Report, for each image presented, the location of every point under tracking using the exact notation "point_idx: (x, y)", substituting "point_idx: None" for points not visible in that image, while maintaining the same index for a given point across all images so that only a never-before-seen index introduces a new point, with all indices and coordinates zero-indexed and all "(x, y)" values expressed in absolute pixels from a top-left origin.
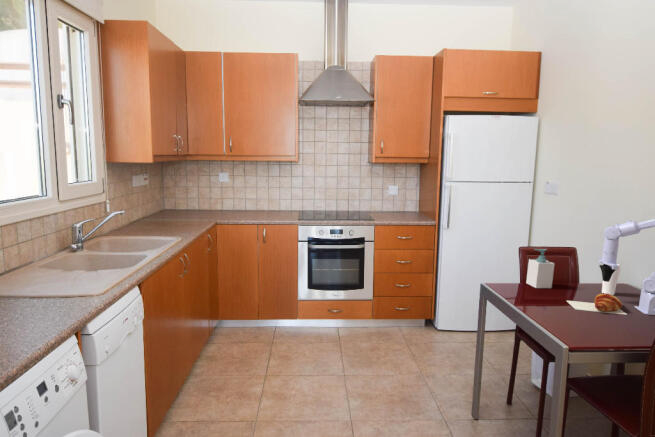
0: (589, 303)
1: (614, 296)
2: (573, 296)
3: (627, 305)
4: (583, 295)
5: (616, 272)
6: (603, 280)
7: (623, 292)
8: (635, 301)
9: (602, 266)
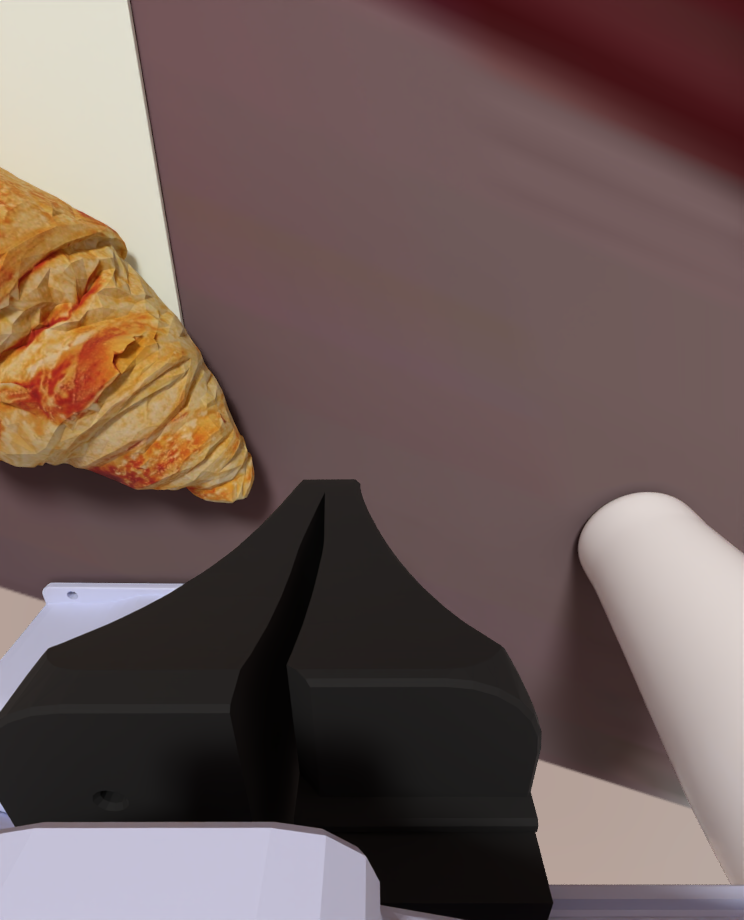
0: (112, 134)
1: (27, 440)
2: (426, 4)
3: None
4: (518, 215)
5: (702, 820)
6: (329, 482)
7: None
8: None
9: (105, 697)
